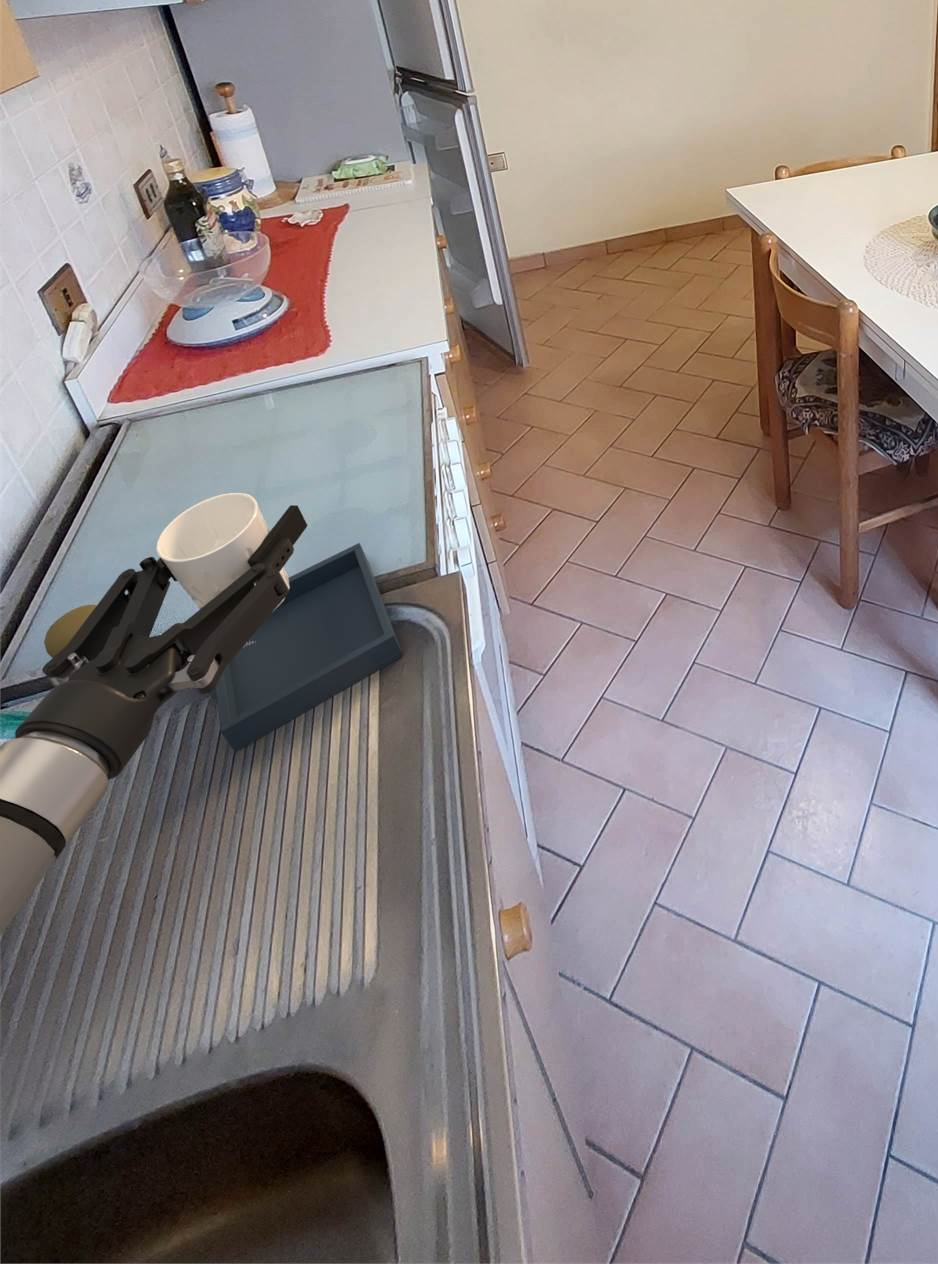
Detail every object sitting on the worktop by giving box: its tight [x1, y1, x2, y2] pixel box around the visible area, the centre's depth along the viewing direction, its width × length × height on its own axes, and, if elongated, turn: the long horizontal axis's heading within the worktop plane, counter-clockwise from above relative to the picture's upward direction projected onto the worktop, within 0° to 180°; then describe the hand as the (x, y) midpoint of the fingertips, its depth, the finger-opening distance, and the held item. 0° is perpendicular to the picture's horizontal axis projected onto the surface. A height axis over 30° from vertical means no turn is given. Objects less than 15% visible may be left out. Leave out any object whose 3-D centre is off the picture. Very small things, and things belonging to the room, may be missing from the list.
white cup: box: [155, 492, 290, 610], centre depth 73 cm, size 8×8×10 cm
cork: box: [43, 604, 98, 659], centre depth 79 cm, size 6×6×11 cm
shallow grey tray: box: [215, 542, 404, 753], centre depth 83 cm, size 16×16×3 cm
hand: (258, 515), depth 77 cm, fingers closed on white cup, 8 cm apart
